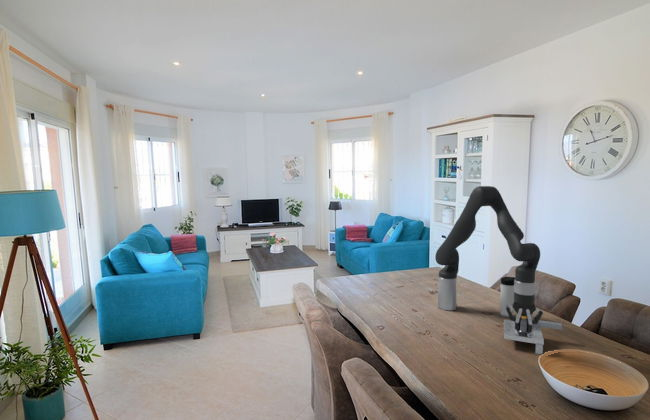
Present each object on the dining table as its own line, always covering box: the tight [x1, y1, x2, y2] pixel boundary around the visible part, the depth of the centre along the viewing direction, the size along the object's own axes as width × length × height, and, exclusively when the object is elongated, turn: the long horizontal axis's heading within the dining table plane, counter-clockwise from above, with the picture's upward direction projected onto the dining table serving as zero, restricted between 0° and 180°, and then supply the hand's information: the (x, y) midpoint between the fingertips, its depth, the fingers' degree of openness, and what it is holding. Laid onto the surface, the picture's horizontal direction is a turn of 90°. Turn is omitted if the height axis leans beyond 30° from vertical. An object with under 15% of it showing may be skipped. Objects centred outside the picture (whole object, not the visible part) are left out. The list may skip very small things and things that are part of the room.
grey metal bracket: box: [503, 312, 563, 355], centre depth 148 cm, size 22×16×14 cm
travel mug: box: [499, 276, 515, 319], centre depth 178 cm, size 6×7×20 cm
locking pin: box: [519, 316, 528, 337], centre depth 145 cm, size 3×3×10 cm
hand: (523, 331), depth 146 cm, fingers open, 3 cm apart
